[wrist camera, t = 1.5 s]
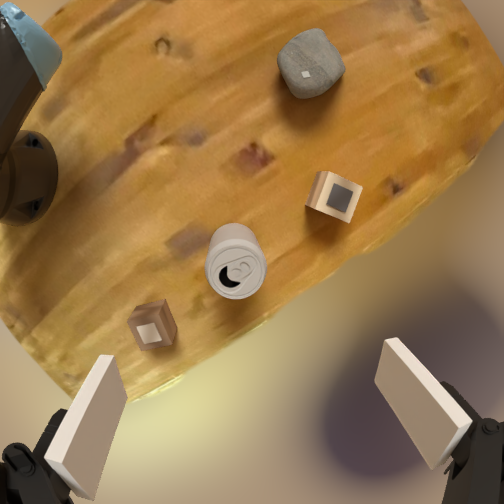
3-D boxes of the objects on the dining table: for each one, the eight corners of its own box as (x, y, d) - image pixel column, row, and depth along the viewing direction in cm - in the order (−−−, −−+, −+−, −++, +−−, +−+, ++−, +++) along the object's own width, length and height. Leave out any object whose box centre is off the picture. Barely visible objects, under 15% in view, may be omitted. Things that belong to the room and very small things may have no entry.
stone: (357, 82, 35) (357, 74, 27) (306, 107, 40) (293, 106, 32) (325, 34, 33) (317, 15, 25) (276, 60, 38) (255, 48, 29)
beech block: (304, 204, 40) (315, 209, 35) (317, 171, 39) (329, 171, 34) (335, 217, 41) (349, 223, 36) (348, 185, 39) (363, 187, 34)
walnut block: (148, 333, 43) (140, 351, 38) (136, 306, 42) (126, 322, 37) (177, 327, 43) (171, 345, 38) (165, 298, 42) (158, 314, 37)
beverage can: (200, 241, 40) (190, 268, 28) (238, 212, 39) (242, 228, 28) (229, 275, 41) (230, 314, 30) (266, 249, 41) (281, 278, 29)
